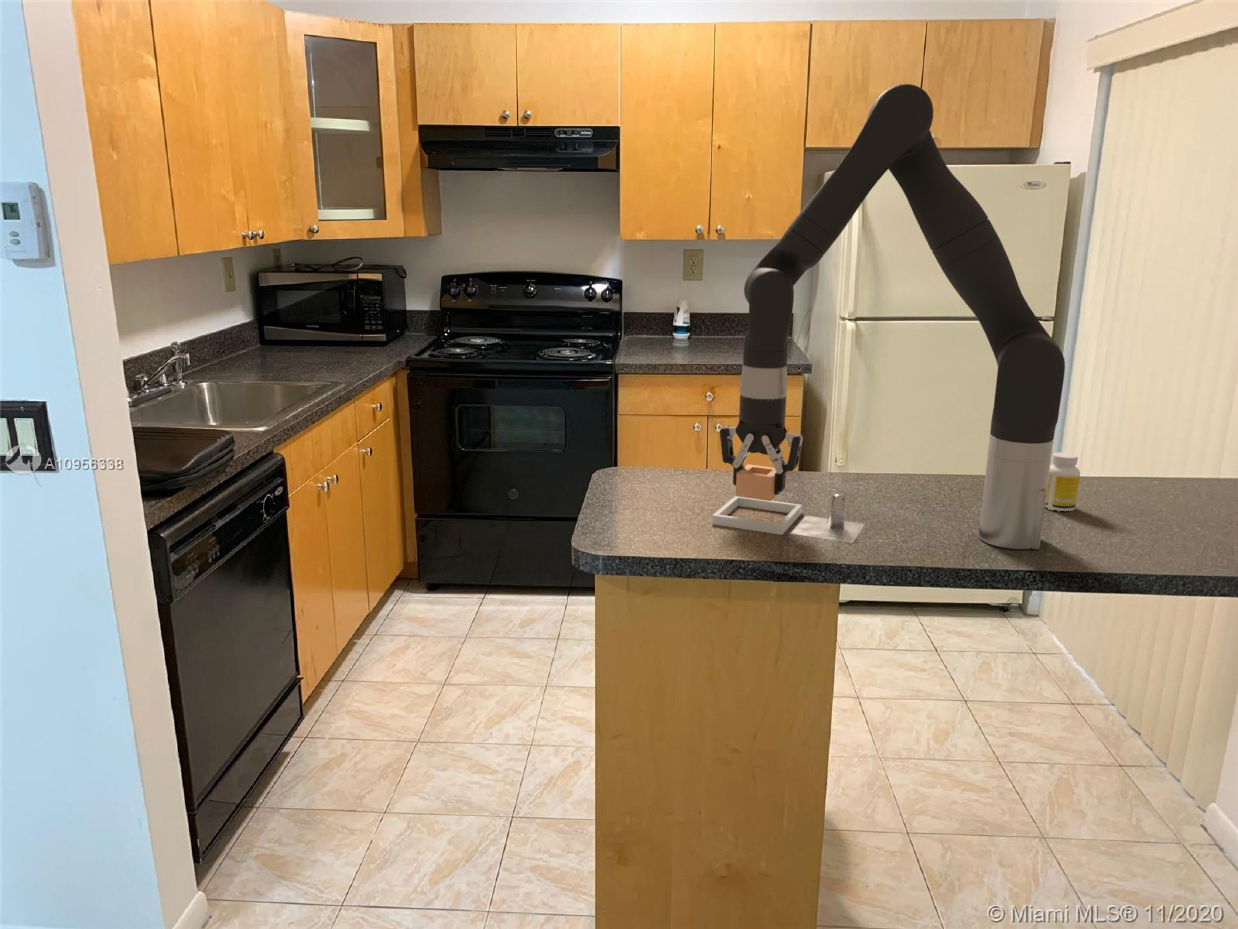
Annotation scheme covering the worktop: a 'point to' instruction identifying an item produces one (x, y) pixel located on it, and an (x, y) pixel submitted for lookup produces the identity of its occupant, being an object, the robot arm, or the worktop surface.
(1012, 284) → the robot arm
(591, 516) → the worktop surface
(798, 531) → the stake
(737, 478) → the ring
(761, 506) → the tray
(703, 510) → the worktop surface
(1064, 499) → the supplement bottle
